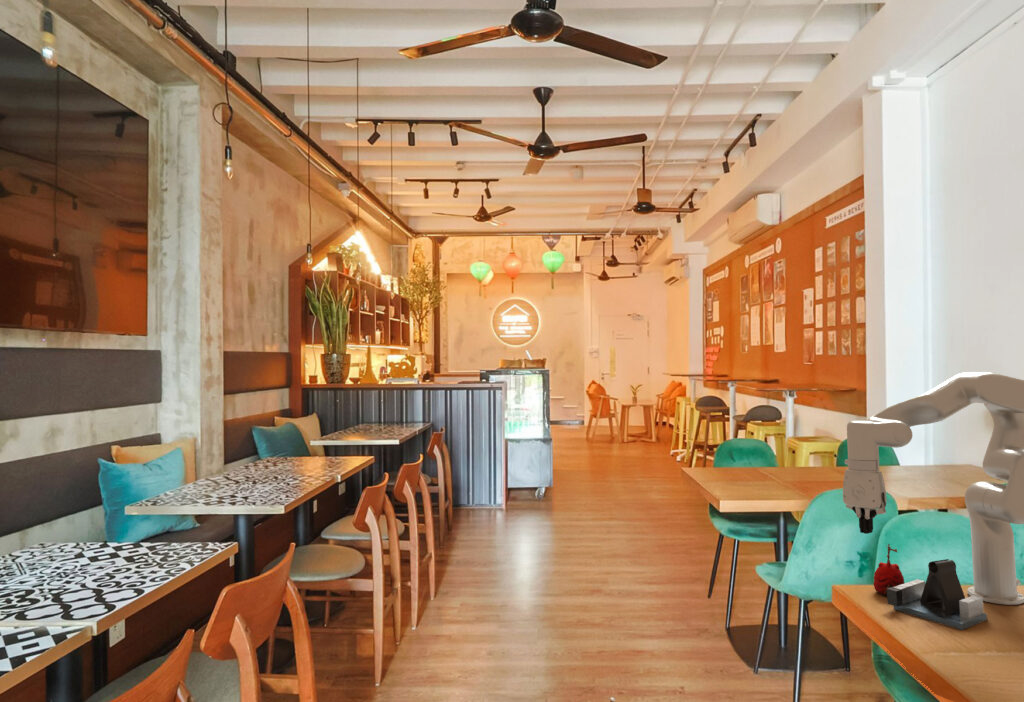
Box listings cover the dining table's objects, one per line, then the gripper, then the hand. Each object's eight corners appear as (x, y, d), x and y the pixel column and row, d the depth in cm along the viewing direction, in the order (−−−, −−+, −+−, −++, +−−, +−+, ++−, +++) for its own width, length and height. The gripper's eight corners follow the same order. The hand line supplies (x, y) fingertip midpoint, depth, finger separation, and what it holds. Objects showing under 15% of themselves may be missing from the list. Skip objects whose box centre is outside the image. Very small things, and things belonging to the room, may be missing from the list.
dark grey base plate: (919, 600, 175) (918, 580, 176) (987, 619, 161) (985, 597, 161) (893, 609, 170) (892, 588, 170) (961, 630, 155) (960, 607, 155)
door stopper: (969, 611, 163) (967, 564, 163) (951, 614, 161) (949, 566, 161) (937, 599, 171) (934, 554, 172) (920, 602, 170) (917, 557, 170)
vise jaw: (917, 593, 176) (916, 579, 176) (926, 596, 173) (926, 581, 173) (887, 603, 169) (886, 588, 169) (897, 606, 167) (896, 591, 167)
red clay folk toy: (903, 592, 182) (900, 539, 183) (906, 600, 176) (904, 545, 176) (873, 589, 185) (870, 537, 186) (875, 597, 179) (872, 543, 179)
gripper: (830, 463, 180) (832, 529, 180) (882, 470, 167) (885, 540, 167) (846, 461, 184) (849, 525, 183) (898, 467, 171) (901, 536, 170)
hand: (866, 532), depth 175 cm, fingers closed
